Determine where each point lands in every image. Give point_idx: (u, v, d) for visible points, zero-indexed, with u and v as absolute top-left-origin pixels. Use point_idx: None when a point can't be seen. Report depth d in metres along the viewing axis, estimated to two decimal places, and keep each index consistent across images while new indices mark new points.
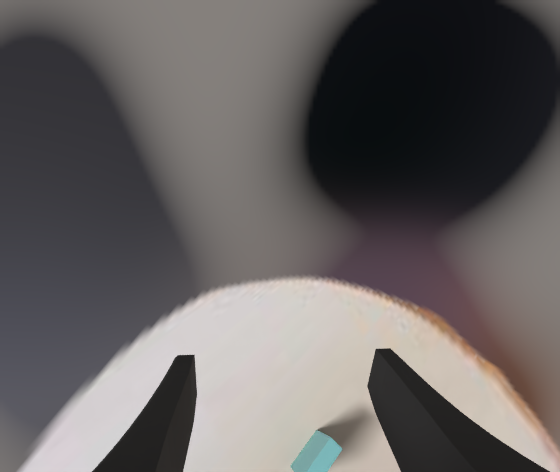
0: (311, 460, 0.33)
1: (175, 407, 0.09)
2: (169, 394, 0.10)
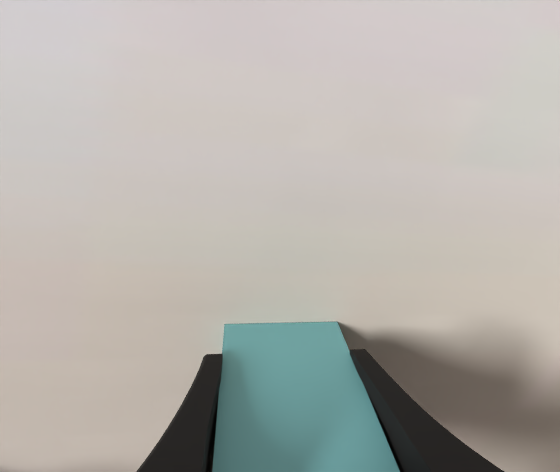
0: (290, 471, 0.08)
1: (211, 405, 0.09)
2: (204, 392, 0.10)
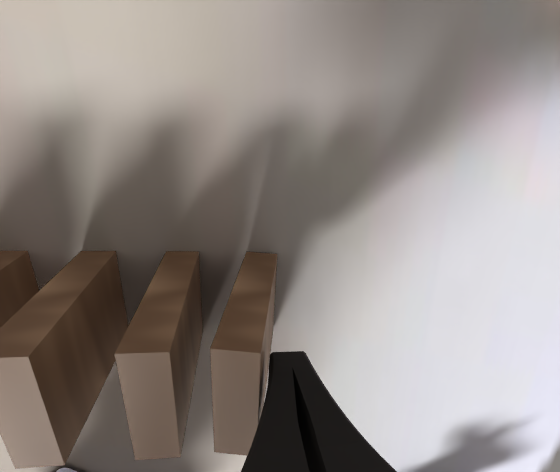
0: None
1: (295, 401, 0.10)
2: (284, 389, 0.10)
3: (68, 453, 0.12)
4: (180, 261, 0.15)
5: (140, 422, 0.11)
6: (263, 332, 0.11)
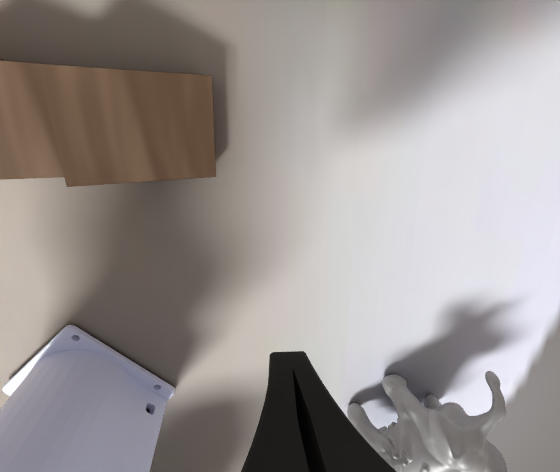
0: None
1: (295, 401, 0.10)
2: (283, 389, 0.10)
3: None
4: None
5: None
6: (67, 66, 0.13)
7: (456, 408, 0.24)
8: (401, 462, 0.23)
